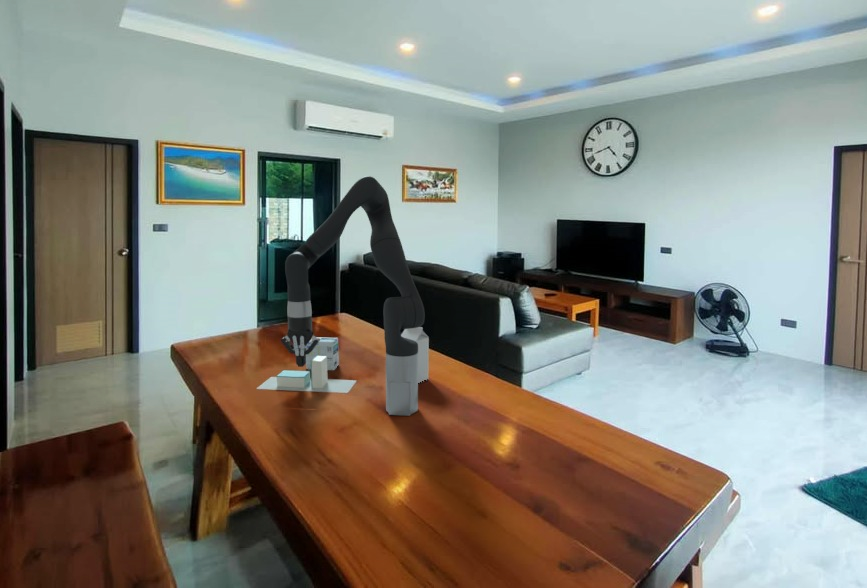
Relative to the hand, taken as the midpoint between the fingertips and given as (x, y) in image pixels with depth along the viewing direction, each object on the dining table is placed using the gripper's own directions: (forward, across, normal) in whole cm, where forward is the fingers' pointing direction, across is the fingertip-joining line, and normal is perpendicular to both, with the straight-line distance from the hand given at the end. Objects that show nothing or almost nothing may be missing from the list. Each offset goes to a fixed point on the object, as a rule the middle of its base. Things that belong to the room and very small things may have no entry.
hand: (301, 366), depth 169 cm
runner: (+6, +2, 0) cm, 7 cm away
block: (+6, +6, 0) cm, 9 cm away
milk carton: (+7, +36, +9) cm, 38 cm away
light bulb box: (+7, +1, +19) cm, 20 cm away
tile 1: (+4, -7, 0) cm, 9 cm away
